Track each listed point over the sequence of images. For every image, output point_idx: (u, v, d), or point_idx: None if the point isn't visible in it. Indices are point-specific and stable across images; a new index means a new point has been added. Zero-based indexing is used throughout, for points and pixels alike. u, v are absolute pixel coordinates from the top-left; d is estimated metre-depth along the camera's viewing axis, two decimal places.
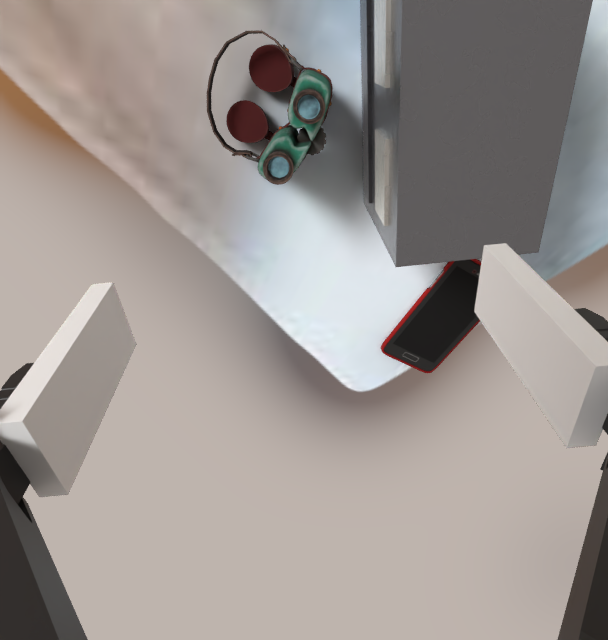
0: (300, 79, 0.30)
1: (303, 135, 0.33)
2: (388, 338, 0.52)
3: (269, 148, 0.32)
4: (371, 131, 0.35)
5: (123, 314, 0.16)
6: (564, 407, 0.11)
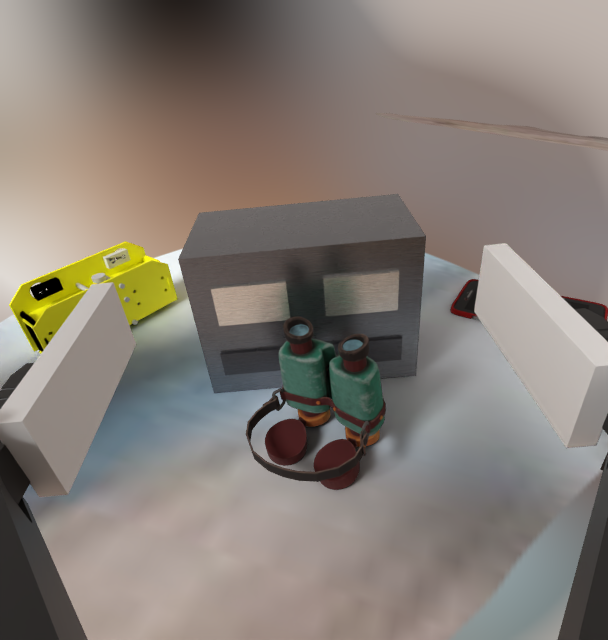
0: (281, 355, 0.33)
1: None
2: None
3: (341, 373, 0.31)
4: (335, 341, 0.39)
5: (123, 314, 0.16)
6: (564, 407, 0.11)
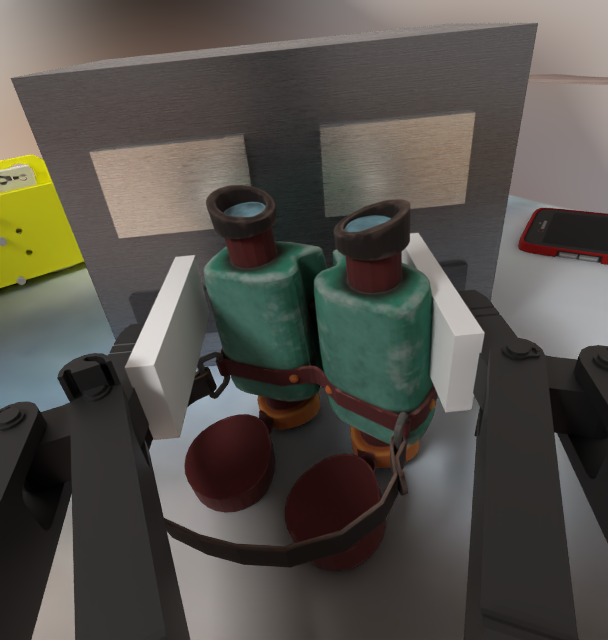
0: (208, 273, 0.15)
1: None
2: None
3: (342, 298, 0.13)
4: None
5: (201, 285, 0.17)
6: (442, 375, 0.13)
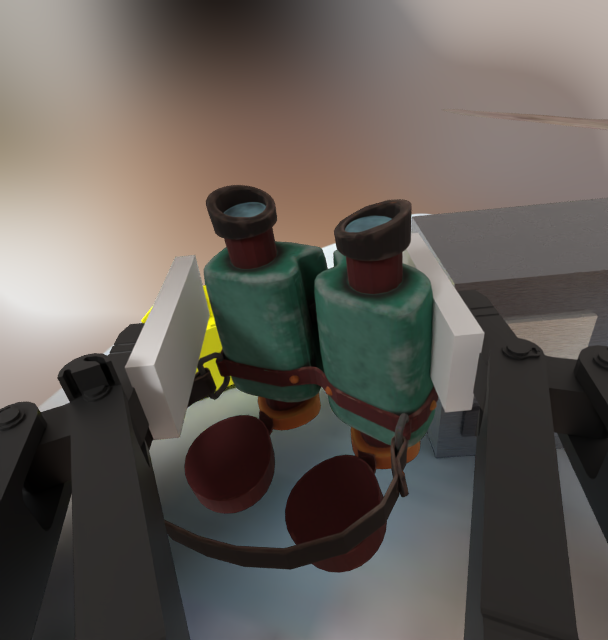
0: (208, 273, 0.15)
1: None
2: None
3: (343, 299, 0.13)
4: None
5: (201, 285, 0.17)
6: (442, 375, 0.13)
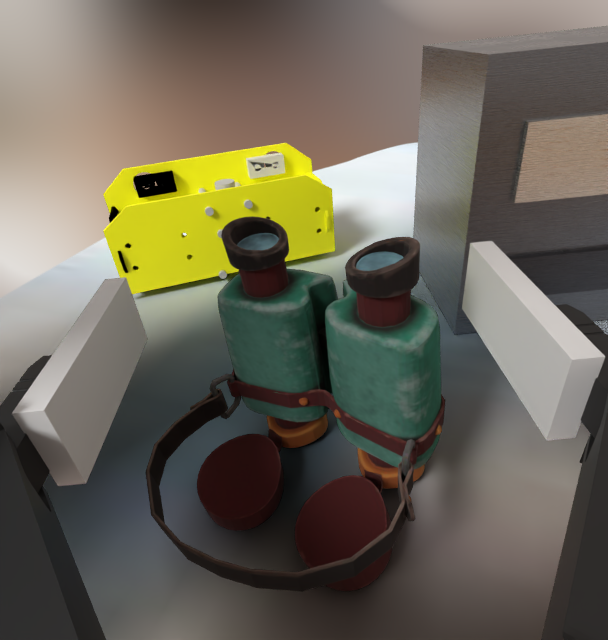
0: (222, 301, 0.15)
1: None
2: None
3: (353, 331, 0.13)
4: None
5: (135, 309, 0.16)
6: (544, 400, 0.11)
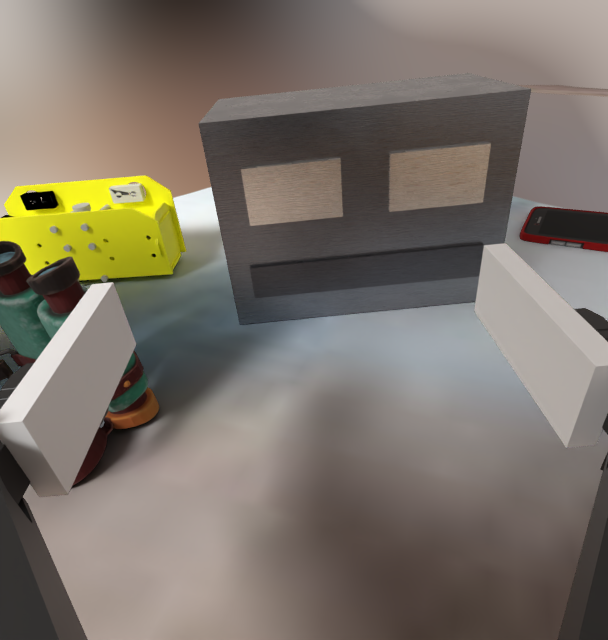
0: None
1: None
2: None
3: (43, 316, 0.21)
4: (397, 250, 0.30)
5: (123, 314, 0.16)
6: (564, 407, 0.11)
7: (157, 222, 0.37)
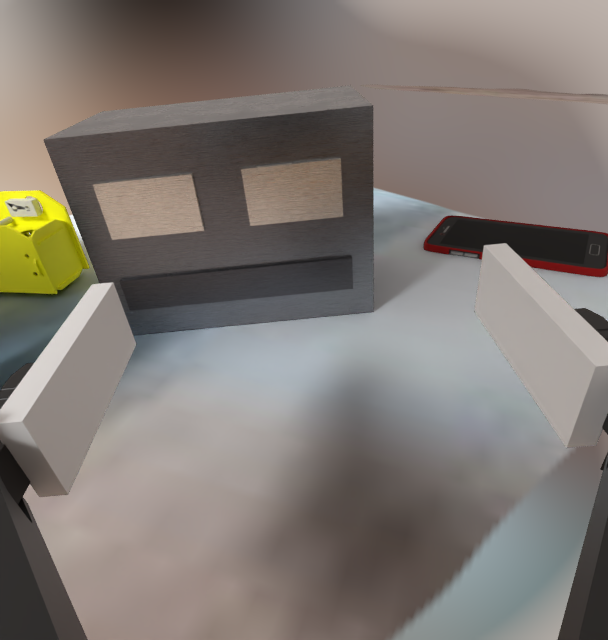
0: None
1: None
2: (578, 270, 0.35)
3: None
4: (267, 263, 0.30)
5: (123, 314, 0.16)
6: (564, 407, 0.11)
7: (32, 241, 0.36)
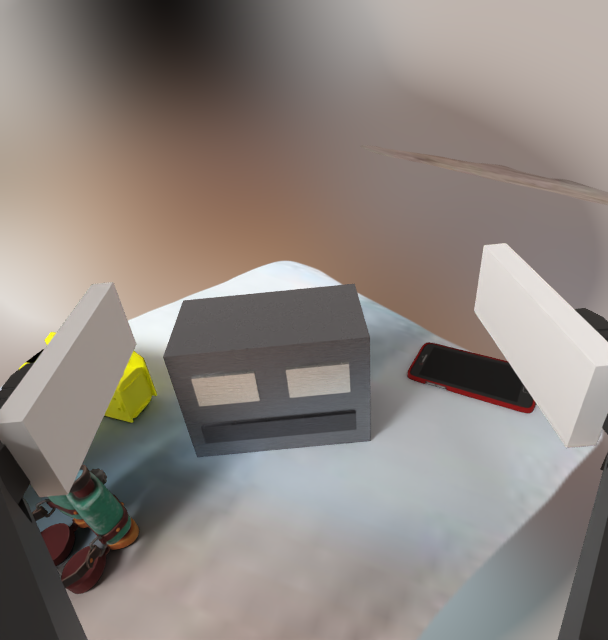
0: None
1: None
2: (513, 407, 0.50)
3: (69, 499, 0.36)
4: (299, 416, 0.46)
5: (123, 314, 0.16)
6: (564, 407, 0.11)
7: (119, 392, 0.50)
